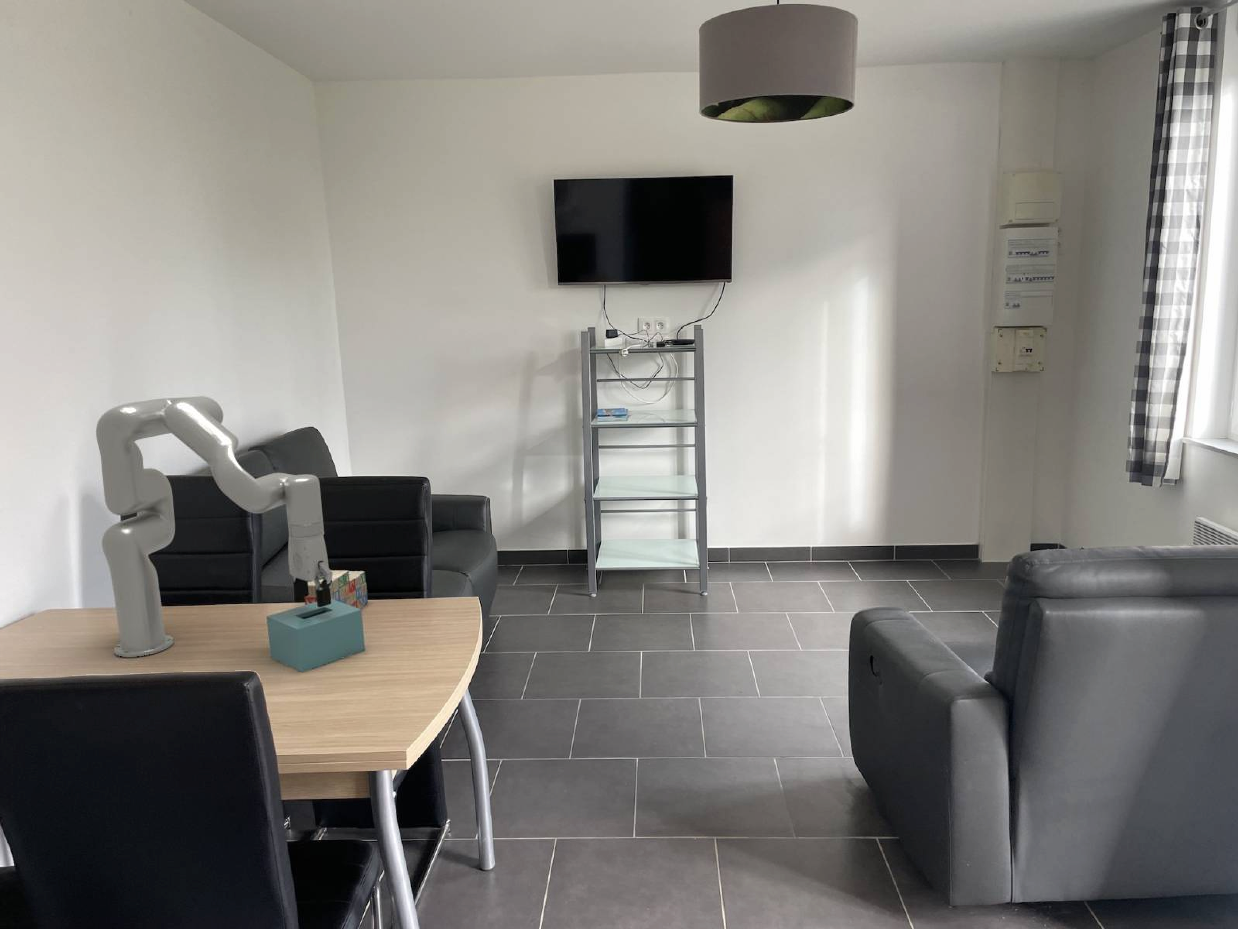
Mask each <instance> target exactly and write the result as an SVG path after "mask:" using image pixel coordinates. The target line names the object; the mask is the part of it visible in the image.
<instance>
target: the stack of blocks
mask: <svg viewBox="0 0 1238 929" xmlns="http://www.w3.org/2000/svg"><path fill="white" fill-rule="evenodd" d="M330 570H331V571H332V573H333V575H332V583H331V588H330V594H331V599H333V600H336V601H339V602H342V603H344V604H347V605H350V606H353V607H356V608H359V609H361V610H362V609H363V608H364V607H365V606H366V605H368V604H369V599H368V589H367V588H368V587H367V582H366V571H363V570H360V571H358V570H355V571H352V570H351V571H350V570H332V569H330ZM322 581H323V579H322V580H319V582H320V584H321V583H322ZM316 590H318V589H317V587H316V584H315V582H314V580H313V581H312V582H308V591H309V595H308V596H306V597H304V605H307V604H310V603H314V602H317V596H316Z"/></svg>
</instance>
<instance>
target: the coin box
mask: <svg viewBox="0 0 1238 929" xmlns="http://www.w3.org/2000/svg"><path fill="white" fill-rule="evenodd" d="M362 610H363V609H362V608H361V609H359V608H356V607H353V606H350V605H347V604H344V603H342V602H339V601H336V600H333V599H331V604H329V605H326V606H323V607H318V606H317V602H314V603H310V604H307V605H305V604H304V605H300V606H298V607H293V608H291V609H286V610H284V611H280V612H277V613H273V614H271V615H270V614H269V615H267V616H266V625H267V632H268V643H269V645H268V646H269V653H270V658H271V659H273V660H275V661H277V662H279V661H280V663H281V662H282V664H284V665H285V664H287V665H286V666H287V667H290V668H292V667H293V668H292V669H293V670H296V671H298V672H300V671H301V673H304V672H307V671H310V670H313V669H316V668H319V667H321V665H322V666H324V665H323V664H325V665H327V664H330V663H333V662H335V661H338V659H339V660H341V658H342V659H344V658H348V657H349V655H350V656H352V655H351V654H353V655H355V654H358V652H359V653H361V652H364V651H366V645H365V635H364V623H363V612H362ZM363 650H364V651H363ZM343 657H344V658H343ZM332 661H333V662H332ZM329 662H330V663H329ZM315 667H316V668H315ZM312 668H313V669H312Z"/></svg>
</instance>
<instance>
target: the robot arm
mask: <svg viewBox="0 0 1238 929" xmlns="http://www.w3.org/2000/svg"><path fill="white" fill-rule="evenodd" d="M223 420H224V412H223V409H222V407H221V406H220V404H219V403H218V402H217V401H215V400H214V399H213V398H211V397H208V396H205V395H204V396H203V395H199V396H191V397H190V396H189V397H188V396H187V397H166V398H165V397H164V398H163V397H162V398H157V399H156V398H155V399H147V400H142V401H141V400H140V401H134V402H128V403H125V404H121V405H120V404H119V405H117V406H114V407H112V408H110V409H109V410H107V411H105V412H104V413H103V414H102V415H101V416H100V418H99V420H98V421H97V424H96V431H95V435H96V436H95V437H96V441H97V442H96V443H97V445H98V446H97V447H98V450H99V455H100V462H101V473H102V474H101V475H102V485H103V495H104V501H105V505H106V507H107V510H108V511H109V512H111V514H113V515H116V516H128V515H129V516H130V515H132V514H136V516H133V517H130V518H127V519H125V520H121V521H119V522H116V523H114V524H112V525H111V526H110V527H108V529H106V531H105V532H104V533H103V536H102V539H101V546H102V551H103V554H104V557H105V558H106V561H107V564H108V568H109V572H110V578H111V583H112V584H111V585H112V590H113V596H114V604H115V612H116V619H117V626H118V632H119V633H118V634H119V640H120V642H119V643H118V644H116V645H115V646H114V647H113V652H114V654H117V655H119V656H118V657H120V656H122V658H137V656H139V657H143V656H144V655H145V656H149V654H150V655H152V654H157V653H159V652H162V651H164V650H167V649H168V648H170V647H171V646H172V645H173V644H174V640H173V639H174V638H173V637H172V636H171V635H170V634H166V632H165V625H164V623H165V622H164V617H163V608H162V602H161V601H162V600H161V594H160V592H161V591H160V586H159V585H160V584H159V577H158V572H157V569H156V567H155V566H154V564H153V562H152V561H151V559H150V558H149V555H151V554H152V553H155V552H157V551H159V550H162V549H164V548H166V547H168V546H169V545H170V544H171V543H172V541H173V539H174V537H175V532H176V521H175V512H174V511H175V510H174V496H173V491H172V485H171V483H170V481H169V479H168V478H167V476H166V475H165V474H164V473H163V472H162V471H161V470H158V469H156V468H152V467H151V468H150V467H149V468H144V458H143V454H142V451H141V449H140V447H139V445H138V444H137V443H136V442H137V441H139V440H143V439H148V438H154V437H158V436H164V435H168V434H172V435H173V436H175V438H177V439H178V440H179V441H180V442H181V443H183V444H184V445H185V446H186V447H188V449H190V450H191V451H192V452H193V453H195V454H196V455H197V456H198V457H200V458H201V459H202V460H203V461H205V462H206V464H208V466H209V467H210V468H209V469H210V471H211V474H212V477H213V479H214V481H215V483H216V485H217V486H218V488H219V489H220V491H221V492H222V493H223V494H224V495H225V496H227V497H228V498H229V499H230V500H231V501H232V502H234V503H235V504H236V505H238V506H239V507H240V508H242V510H245V511H247V512H249V513H252V514H263V513H267V512H268V511H270V510H272V509H275V508H278V507H282V506H283V505H285V506H286V507H285V508H286V518H287V526H288V528H287V529H288V546H287V547H288V548H287V549H288V550H287V551H288V554H287V558H288V569H289V570H288V571H289V574H290V575H291V579H292V582H293V589H294V591H293V592H294V598H295V599H297V600H299V599H304V598H305V597H306V596H308V595H309V591H308V582H312V581H313V580H314V582H315V584H316V587H317V589H318V590H316V596H317V606H318V607H323V606H326V605H329V604H331V594H330V588H331V583H332V575H333V573H332V571H333V570H332V569H330V567H329V559H328V553H327V552H328V551H327V546H326V542H325V537H324V534H325V529H324V528H325V527H324V517H323V516H324V515H323V509H322V508H323V507H322V497H321V494H322V493H321V485H320V479H319V478H318V477H317V476H316V475H314V474H297V475H295V474H289V473H285V472H274V473H270V474H267V475H263V476H260V477H257V478H255V477H254V476H252V475H251V474H250V473H249V472H248V471H246V469H244V468H243V467H242V466H241V465H240V463H239V462H238V460H237V459H236V456H235V454H236V451H237V449H238V447H239V438H238V437H237V436H236V435H235V434H233V433H232V432H231V431H230V430H229V429H227V428H226V427H225V426H224V425H223ZM331 570H332V571H331ZM322 579H323V581H322V583H321V584H320V582H319V580H322ZM117 655H116V656H117Z"/></svg>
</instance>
